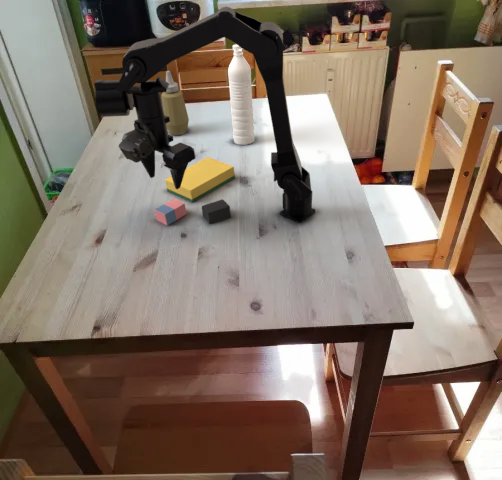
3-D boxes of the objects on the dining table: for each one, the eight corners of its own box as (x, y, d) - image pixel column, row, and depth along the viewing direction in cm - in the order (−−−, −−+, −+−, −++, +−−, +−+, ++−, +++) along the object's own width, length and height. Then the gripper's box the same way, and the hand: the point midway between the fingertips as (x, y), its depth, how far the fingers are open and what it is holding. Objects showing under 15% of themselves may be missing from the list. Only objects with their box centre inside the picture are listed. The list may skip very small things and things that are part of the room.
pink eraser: (176, 209, 118) (173, 198, 115) (186, 214, 116) (184, 203, 113) (156, 220, 114) (153, 209, 112) (167, 225, 112) (164, 214, 110)
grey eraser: (224, 209, 116) (222, 198, 114) (230, 217, 114) (229, 206, 111) (203, 216, 114) (201, 205, 112) (209, 224, 112) (208, 213, 110)
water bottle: (255, 144, 141) (250, 51, 124) (234, 146, 141) (226, 54, 123) (252, 132, 148) (247, 43, 130) (232, 134, 147) (224, 45, 129)
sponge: (209, 168, 132) (208, 156, 130) (234, 178, 127) (233, 166, 125) (167, 191, 124) (164, 179, 122) (192, 202, 119) (190, 190, 117)
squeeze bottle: (162, 130, 153) (151, 70, 140) (185, 125, 155) (176, 65, 142) (170, 139, 148) (159, 77, 135) (193, 133, 150) (185, 72, 137)
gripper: (93, 117, 98) (113, 185, 109) (148, 137, 89) (164, 210, 100) (134, 100, 103) (150, 167, 115) (191, 118, 94) (201, 189, 105)
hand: (165, 182), depth 108 cm, fingers open, 9 cm apart
